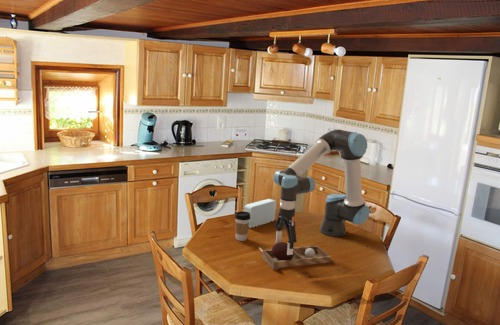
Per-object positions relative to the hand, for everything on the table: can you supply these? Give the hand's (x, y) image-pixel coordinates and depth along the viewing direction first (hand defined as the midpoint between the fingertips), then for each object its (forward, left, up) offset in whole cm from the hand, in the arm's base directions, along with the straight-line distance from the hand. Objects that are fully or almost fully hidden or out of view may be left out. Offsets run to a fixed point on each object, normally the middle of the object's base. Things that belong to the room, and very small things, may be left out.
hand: (283, 248), depth 218 cm
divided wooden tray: (-7, 0, -7) cm, 10 cm away
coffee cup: (+11, -32, -7) cm, 34 cm away
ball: (-15, 0, -6) cm, 16 cm away
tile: (+3, -13, -7) cm, 15 cm away
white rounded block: (-8, -53, -7) cm, 55 cm away
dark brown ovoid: (0, 0, -6) cm, 6 cm away
